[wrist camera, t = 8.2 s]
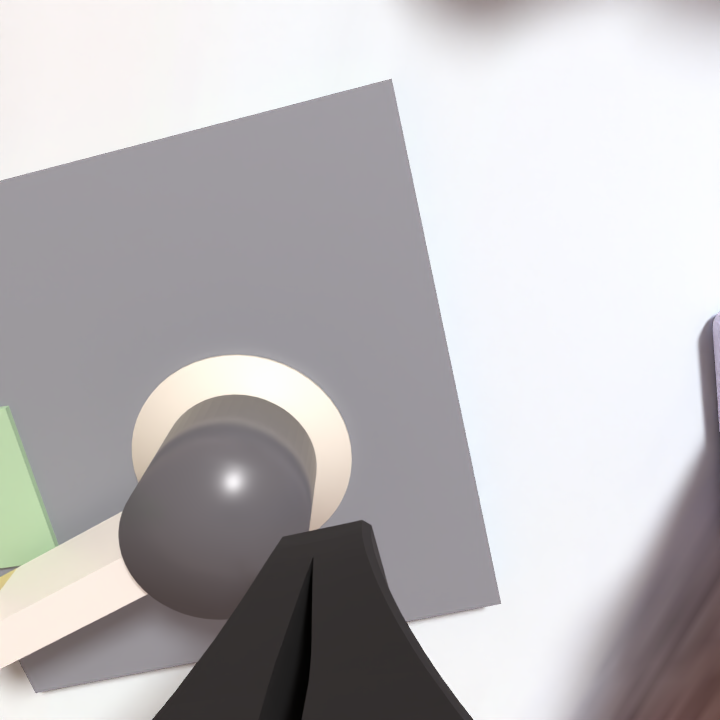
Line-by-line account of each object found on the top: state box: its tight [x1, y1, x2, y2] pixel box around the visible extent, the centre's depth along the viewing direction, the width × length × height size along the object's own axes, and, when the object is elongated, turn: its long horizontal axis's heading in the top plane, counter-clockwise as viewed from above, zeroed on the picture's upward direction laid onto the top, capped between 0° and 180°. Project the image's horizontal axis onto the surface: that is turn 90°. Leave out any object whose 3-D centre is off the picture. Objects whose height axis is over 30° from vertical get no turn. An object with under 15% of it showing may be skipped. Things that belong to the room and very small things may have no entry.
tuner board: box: [0, 79, 501, 693], centre depth 20 cm, size 16×16×1 cm
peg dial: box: [0, 394, 317, 669], centre depth 18 cm, size 11×4×4 cm, turn 120°
